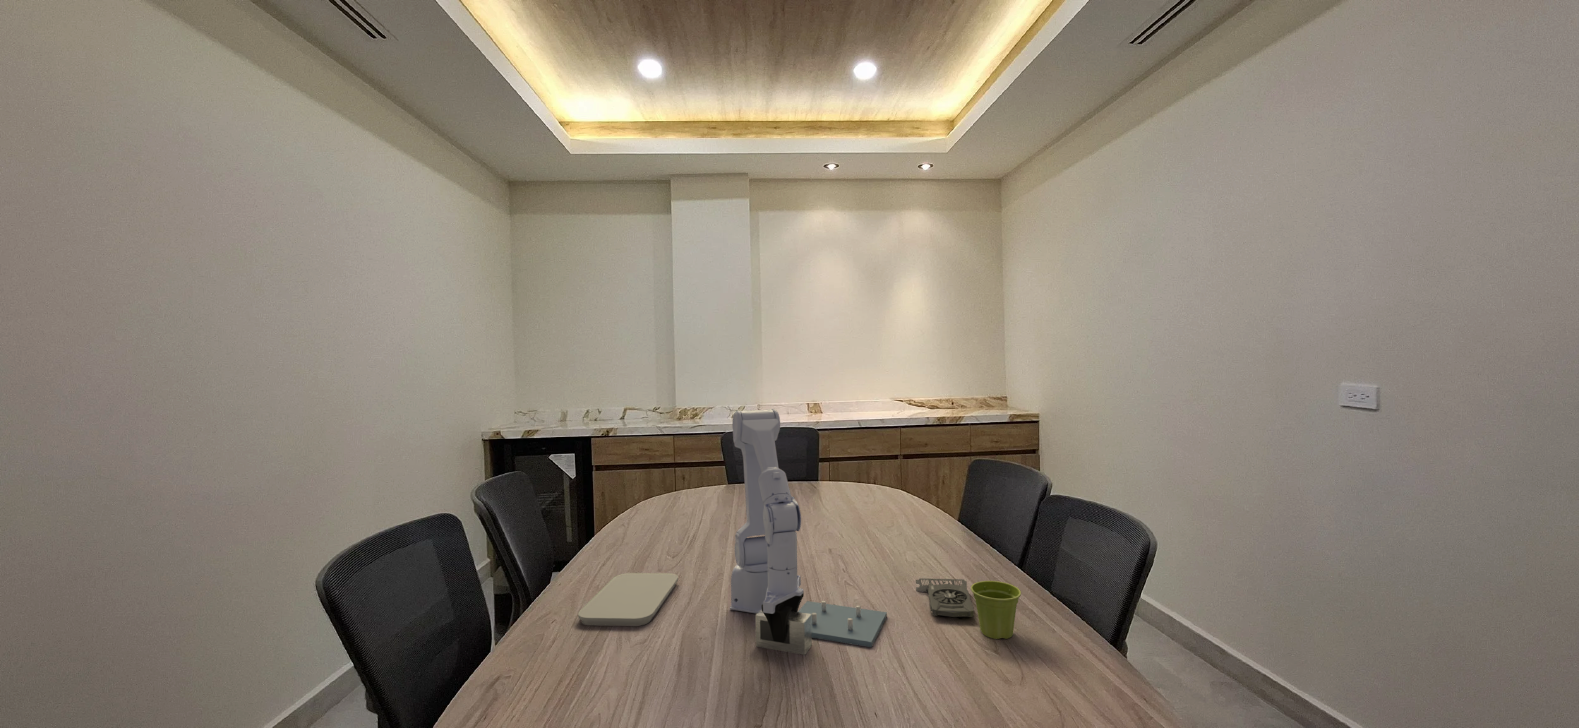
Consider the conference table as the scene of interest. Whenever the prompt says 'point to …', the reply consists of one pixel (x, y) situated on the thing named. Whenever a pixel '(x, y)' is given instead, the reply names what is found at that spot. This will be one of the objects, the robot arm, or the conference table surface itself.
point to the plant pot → (996, 607)
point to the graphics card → (947, 597)
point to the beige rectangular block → (796, 633)
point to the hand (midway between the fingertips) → (783, 635)
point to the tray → (844, 623)
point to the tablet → (628, 599)
